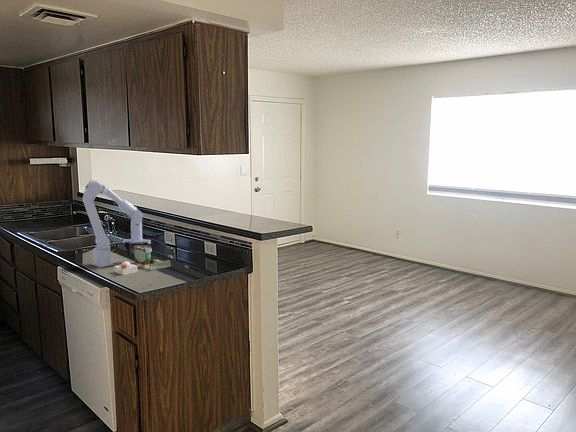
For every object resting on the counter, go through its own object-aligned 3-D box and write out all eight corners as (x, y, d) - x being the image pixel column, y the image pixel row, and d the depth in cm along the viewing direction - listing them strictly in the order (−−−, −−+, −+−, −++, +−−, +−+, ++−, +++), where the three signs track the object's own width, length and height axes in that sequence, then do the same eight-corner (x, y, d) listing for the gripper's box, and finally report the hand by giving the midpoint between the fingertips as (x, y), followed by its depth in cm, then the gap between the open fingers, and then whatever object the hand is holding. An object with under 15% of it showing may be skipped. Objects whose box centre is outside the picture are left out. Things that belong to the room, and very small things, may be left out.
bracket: (135, 265, 251) (134, 260, 250) (154, 262, 260) (154, 256, 260) (151, 270, 242) (150, 264, 242) (170, 266, 251) (170, 260, 251)
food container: (157, 266, 251) (156, 247, 249) (146, 268, 246) (146, 249, 245) (144, 262, 259) (143, 244, 257) (133, 264, 254) (133, 245, 253)
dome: (118, 270, 238) (118, 261, 237) (127, 269, 242) (127, 259, 241) (124, 272, 235) (124, 263, 234) (133, 270, 239) (132, 261, 238)
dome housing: (114, 272, 238) (113, 262, 237) (128, 269, 244) (128, 259, 243) (123, 275, 233) (123, 265, 232) (137, 271, 239) (137, 262, 238)
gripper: (120, 232, 254) (121, 257, 256) (147, 233, 253) (148, 258, 255) (125, 230, 261) (125, 255, 263) (151, 231, 260) (152, 255, 262)
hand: (137, 256), depth 259 cm, fingers open, 7 cm apart
